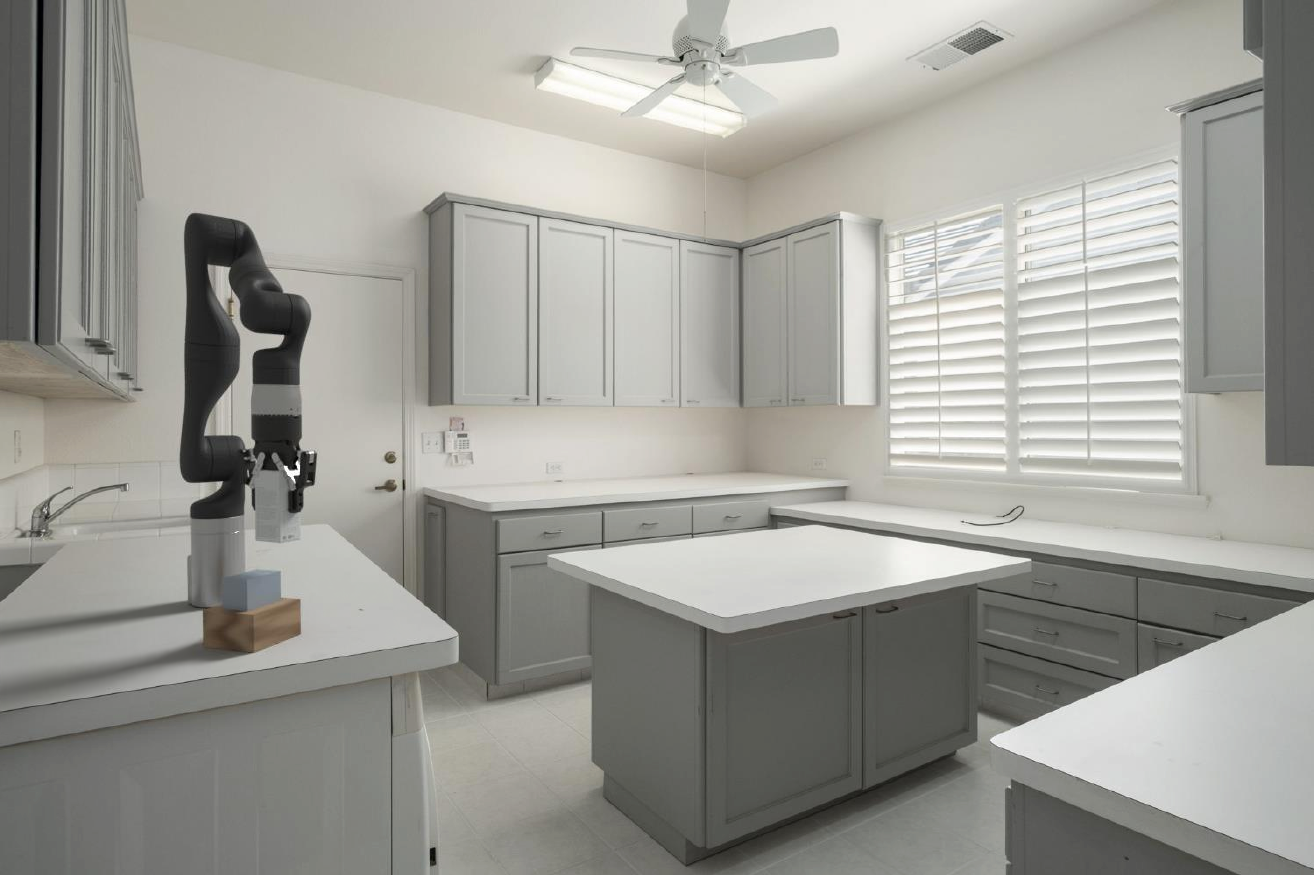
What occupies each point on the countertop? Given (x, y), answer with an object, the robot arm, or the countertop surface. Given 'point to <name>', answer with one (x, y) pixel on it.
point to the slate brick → (251, 589)
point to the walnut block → (251, 626)
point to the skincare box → (274, 509)
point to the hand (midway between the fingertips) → (277, 511)
